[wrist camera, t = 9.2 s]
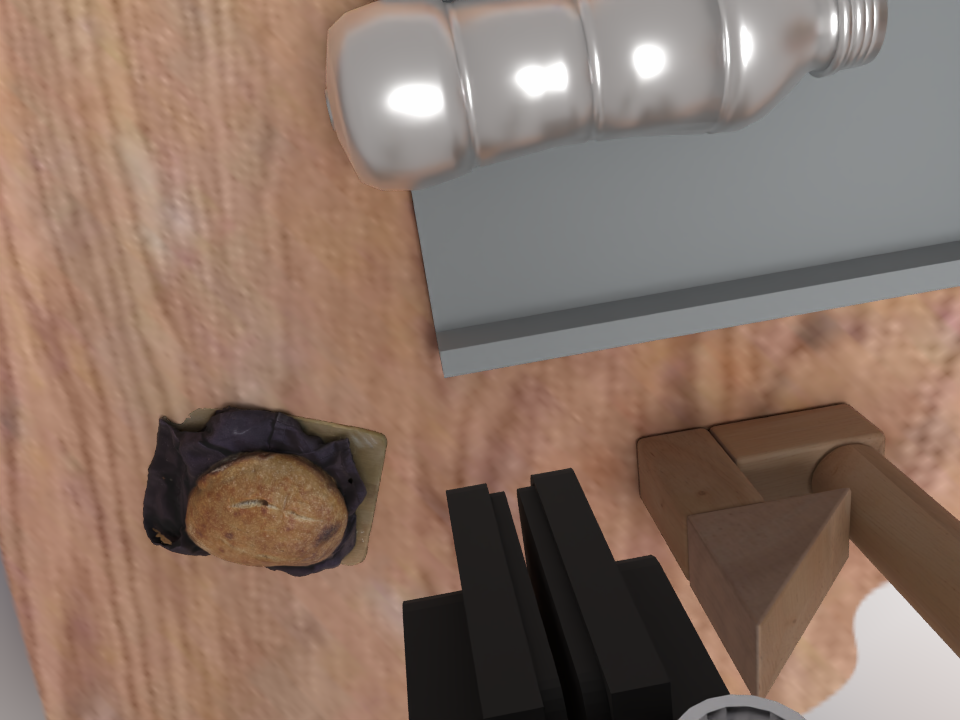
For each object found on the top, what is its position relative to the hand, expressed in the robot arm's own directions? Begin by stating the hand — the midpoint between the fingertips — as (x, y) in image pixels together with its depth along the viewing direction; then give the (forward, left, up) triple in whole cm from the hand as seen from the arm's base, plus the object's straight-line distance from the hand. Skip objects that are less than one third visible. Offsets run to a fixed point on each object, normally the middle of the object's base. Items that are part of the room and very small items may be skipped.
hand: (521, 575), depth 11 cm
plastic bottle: (+4, +3, -24) cm, 24 cm away
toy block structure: (-15, -14, -27) cm, 34 cm away
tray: (+1, -13, -27) cm, 30 cm away
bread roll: (-13, +9, -28) cm, 32 cm away
